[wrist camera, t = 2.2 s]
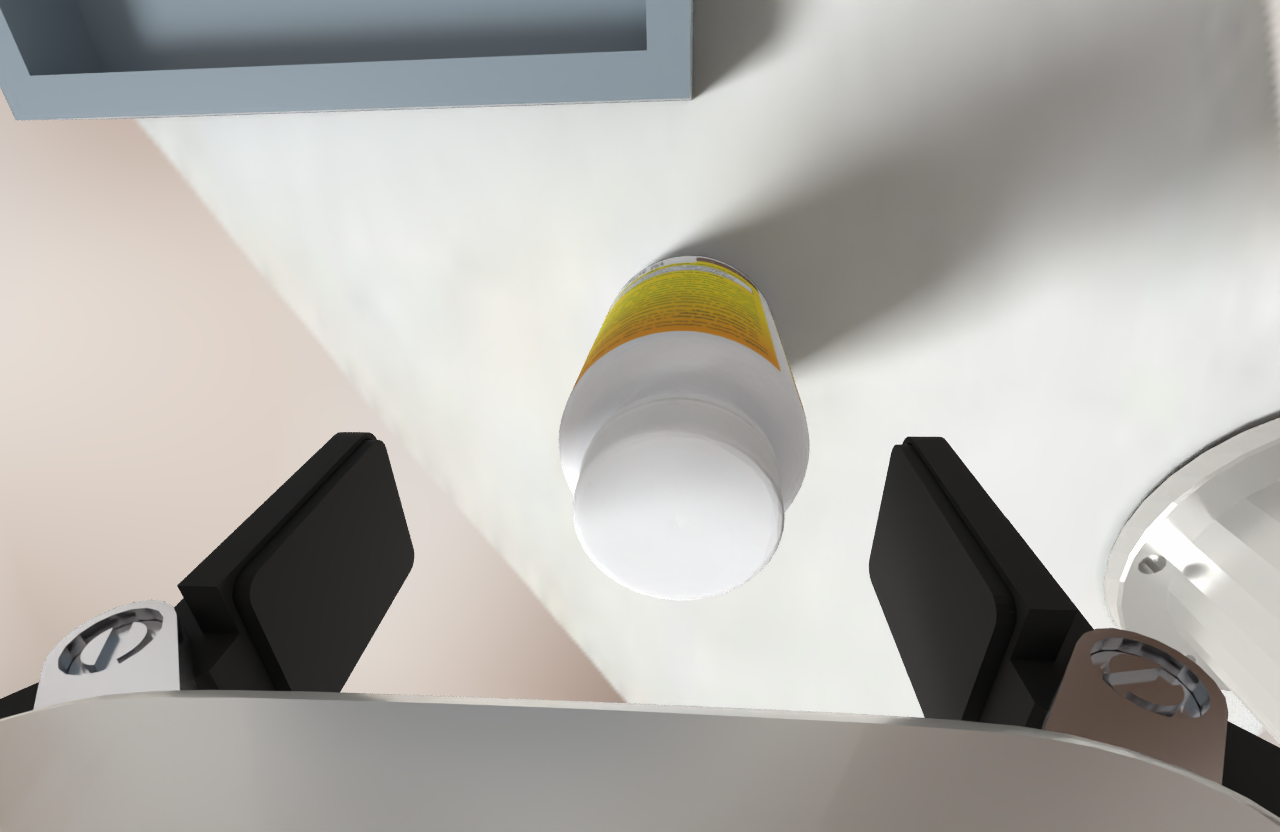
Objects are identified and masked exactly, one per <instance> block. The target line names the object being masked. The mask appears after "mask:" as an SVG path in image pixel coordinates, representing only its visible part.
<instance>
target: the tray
mask: <svg viewBox="0 0 1280 832" xmlns="http://www.w3.org/2000/svg"><path fill="white" fill-rule="evenodd" d="M692 70H693V0H0V87H1V89H2V91H3V94H4V96H5V98H6V100H7V102H8V104H9V107H10V109H11V111H12V113H13V115H14V117H15V119H16V120H68V119H125V118H157V117H188V116H218V115H249V114H280V113H311V112H342V111H372V110H403V109H434V108H465V107H495V106H526V105H557V104H588V103H619V102H649V101H680V100H692Z"/></svg>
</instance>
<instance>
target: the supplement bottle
mask: <svg viewBox="0 0 1280 832" xmlns="http://www.w3.org/2000/svg"><path fill="white" fill-rule="evenodd" d="M559 452H560V460H561V465H562V469H563V472H564V476H565V478H566V481H567V483H568V486H569V488H570V489H571V491H572V493H573V495H574V499H573V520H574V526H575V530H576V533H577V536H578V538H579V541H580V543H581V545H582V547H583V549H584V551H585V552H586V553H587V555H588V556H589V558H590V559H591V560H592V562H593V563H594V564H595V565H596V566H597V567H598V568H599V569H600V570H601V571H602V572H604V573H605V574H606V575H608V576H609V577H610V578H612V579H613V580H615V581H616V582H618V583H619V584H621V585H623V586H625V587H627V588H629V589H631V590H634V591H636V592H638V593H641V594H644V595H648V596H653V597H657V598H661V599H668V600H696V599H704V598H709V597H713V596H717V595H720V594H723V593H726V592H729V591H731V590H733V589H735V588H737V587H740V586H741V585H743V584H744V583H746V582H748V581H749V580H750V579H752V578H753V577H754V576H755V575H756V574H758V573H759V572H760V571H761V570H762V569H763V568H764V567H765V566H766V564H767V563H768V562H769V561H770V559H771V558H772V556H773V555H774V553H775V551H776V549H777V547H778V545H779V542H780V540H781V536H782V532H783V528H784V512H785V511H786V510H787V509H788V507H789V506H790V505H791V503H792V502H793V500H794V498H795V497H796V495H797V493H798V491H799V489H800V487H801V485H802V482H803V480H804V477H805V473H806V469H807V464H808V459H809V434H808V427H807V422H806V417H805V413H804V409H803V406H802V403H801V400H800V397H799V394H798V391H797V388H796V385H795V381H794V378H793V375H792V372H791V369H790V367H789V364H788V361H787V357H786V354H785V351H784V348H783V346H782V343H781V340H780V337H779V334H778V331H777V328H776V325H775V322H774V319H773V316H772V314H771V311H770V309H769V307H768V304H767V302H766V300H765V299H764V297H763V295H762V294H761V292H760V291H759V289H758V288H757V287H756V286H755V284H754V283H753V282H752V281H751V280H750V279H749V278H747V277H746V276H745V275H744V274H743V273H741V272H740V271H738V270H737V269H735V268H734V267H732V266H730V265H728V264H726V263H723V262H720V261H718V260H715V259H712V258H708V257H701V256H679V257H673V258H669V259H665V260H662V261H659V262H657V263H655V264H652V265H650V266H648V267H647V268H645V269H643V270H642V271H640V272H639V273H637V274H636V275H635V276H634V277H633V278H632V279H630V280H629V281H628V282H627V284H626V285H625V286H624V287H623V288H622V290H621V291H620V292H619V294H618V295H617V297H616V298H615V300H614V302H613V304H612V305H611V307H610V310H609V312H608V314H607V316H606V319H605V321H604V323H603V325H602V327H601V329H600V332H599V334H598V336H597V338H596V340H595V342H594V344H593V346H592V348H591V350H590V352H589V355H588V357H587V359H586V361H585V364H584V366H583V368H582V370H581V372H580V375H579V377H578V379H577V381H576V383H575V386H574V388H573V390H572V392H571V394H570V397H569V399H568V401H567V404H566V407H565V410H564V413H563V416H562V420H561V425H560V430H559Z"/></svg>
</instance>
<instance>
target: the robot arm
mask: <svg viewBox="0 0 1280 832" xmlns="http://www.w3.org/2000/svg"><path fill="white" fill-rule="evenodd" d="M413 562H414V549H413V545H412V542H411V538H410V534H409V531H408V527H407V524H406V519H405V516H404V512H403V509H402V505H401V501H400V497H399V494H398V490H397V487H396V483H395V479H394V475H393V472H392V468H391V464H390V461H389V457H388V453H387V450H386V447H385V444H384V443H383V442H382V441H380V440H377V439H376V437H375V436H374V435H373V434H371V433H363V432H362V433H360V432H353V433H352V432H341V433H337V434H336V435H334V436H333V437H332V438H331V439H330V440H329V441H328V442H327V443H326V444H325V445H324V446H323V447H322V448H321V449H320V450H319V451H318V452H317V453H315V454H314V455H313V456H312V457H311V458H310V459H309V460H308V461H307V462H306V463H305V464H304V465H303V466H302V467H301V468H300V469H299V470H298V471H297V472H296V473H295V474H293V476H291V477H290V478H289V479H288V480H287V481H286V482H285V483H284V484H283V485H282V486H281V487H280V488H279V489H278V490H277V491H276V492H275V493H274V494H273V495H271V496H270V497H269V498H268V499H267V500H266V501H265V502H264V503H263V504H262V505H261V506H260V507H259V508H258V509H257V510H256V511H255V512H254V513H253V514H252V515H251V516H250V517H248V518H247V519H246V520H245V521H244V522H243V523H242V524H241V525H240V526H239V527H238V528H237V529H236V530H235V531H234V532H233V533H232V534H231V535H230V536H229V537H228V538H227V539H225V540H224V541H223V542H222V543H221V544H220V545H219V546H218V547H217V548H216V549H215V550H214V551H213V552H212V553H211V554H210V555H209V556H208V557H207V558H206V559H205V560H203V561H202V562H201V563H200V564H199V565H198V566H197V567H196V568H195V569H194V570H193V571H192V572H191V573H190V574H189V575H188V576H187V577H186V578H185V579H184V580H183V581H182V582H181V583H179V584H178V588H179V590H180V591H181V593H182V595H183V597H184V598H183V599H182V600H181V601H180V602H179V603H178V604H177V606H175V607H173V606H172V605H170V604H168V603H166V602H164V601H155V600H147V601H140V602H133V603H130V604H127V605H123V606H120V607H117V608H114V609H112V610H109V611H107V612H105V613H103V614H101V615H98V616H96V617H94V618H92V619H91V620H89V621H87V622H86V623H84V624H82V625H81V626H79V627H77V628H76V629H74V630H73V631H72V632H71V633H70V634H68V635H67V636H66V637H64V638H63V639H62V640H61V641H60V642H59V643H58V644H57V645H56V646H55V647H54V648H53V650H52V651H51V652H50V653H49V654H48V656H47V658H46V660H45V662H44V664H43V667H42V671H41V676H40V680H39V682H38V683H36V684H34V685H31V686H29V687H27V688H24V689H22V690H20V691H18V692H15V693H13V694H11V695H9V696H6V697H4V698H2V699H0V832H1280V748H1279V747H1277V746H1275V745H1273V744H1271V743H1269V742H1267V741H1265V740H1263V739H1262V738H1260V737H1258V736H1256V735H1254V734H1252V733H1250V732H1248V731H1246V730H1244V729H1242V728H1240V727H1238V726H1236V725H1234V724H1232V723H1230V722H1229V721H1228V709H1227V704H1226V699H1225V696H1224V695H1223V693H1222V692H1221V690H1227V691H1232V692H1233V693H1234V695H1235V696H1236V697H1237V698H1238V699H1239V700H1240V701H1241V702H1242V703H1243V704H1244V706H1245V707H1246V708H1247V709H1248V710H1249V711H1250V712H1251V713H1252V714H1253V715H1254V717H1255V718H1256V719H1257V720H1258V721H1259V722H1260V723H1261V724H1262V725H1263V727H1264V728H1265V729H1266V730H1267V731H1268V732H1269V733H1270V734H1271V735H1272V736H1273V737H1274V738H1275V740H1276V741H1277V742H1278V743H1279V744H1280V418H1277V419H1274V420H1272V421H1269V422H1267V423H1264V424H1262V425H1259V426H1256V427H1254V428H1251V429H1249V430H1246V431H1244V432H1242V433H1240V434H1238V435H1236V436H1234V437H1232V438H1230V439H1228V440H1226V441H1225V442H1223V443H1221V444H1219V445H1217V446H1215V447H1213V448H1211V449H1210V450H1208V451H1206V452H1204V453H1202V454H1201V455H1200V456H1198V457H1197V458H1195V459H1194V460H1192V461H1191V462H1190V463H1188V464H1187V465H1185V466H1184V467H1183V468H1181V469H1180V470H1178V471H1177V472H1175V473H1174V474H1173V475H1171V476H1170V477H1169V478H1168V479H1167V480H1166V481H1165V482H1163V483H1162V484H1161V485H1160V486H1159V487H1158V488H1157V489H1156V490H1155V491H1154V492H1153V493H1152V494H1151V495H1150V496H1148V497H1147V498H1146V499H1145V500H1144V501H1143V502H1142V504H1141V505H1140V506H1139V508H1138V509H1137V510H1136V511H1135V513H1134V514H1133V515H1132V517H1131V518H1130V519H1129V520H1128V522H1127V523H1126V524H1125V526H1124V527H1123V528H1122V530H1121V532H1120V534H1119V536H1118V538H1117V540H1116V542H1115V544H1114V546H1113V548H1112V550H1111V552H1110V555H1109V559H1108V563H1107V567H1106V571H1105V576H1104V590H1105V602H1106V605H1107V607H1108V610H1109V613H1110V616H1111V618H1112V621H1113V622H1114V623H1115V625H1116V626H1117V627H1118V629H1115V628H1105V629H1095V630H1094V629H1093V628H1092V627H1091V625H1090V624H1089V623H1088V622H1087V620H1086V619H1085V618H1084V616H1083V615H1082V614H1081V613H1080V611H1079V610H1078V609H1077V607H1076V606H1075V605H1074V604H1073V602H1072V601H1071V600H1070V598H1069V597H1068V596H1067V595H1066V593H1065V592H1064V591H1063V589H1062V588H1061V587H1060V586H1059V584H1058V583H1057V582H1056V580H1055V579H1054V578H1053V577H1052V575H1051V574H1050V573H1049V572H1048V570H1047V569H1046V568H1045V566H1044V565H1043V564H1042V563H1041V561H1040V560H1039V559H1038V557H1037V556H1036V555H1035V554H1034V552H1033V551H1032V550H1031V548H1030V547H1029V546H1028V545H1027V543H1026V542H1025V541H1024V539H1023V538H1022V537H1021V536H1020V534H1019V533H1018V532H1017V530H1016V529H1015V528H1014V527H1013V525H1012V524H1011V523H1010V521H1009V520H1008V519H1007V518H1006V517H1005V516H1004V514H1003V513H1002V512H1001V511H1000V509H999V508H998V507H997V505H996V504H995V503H994V502H993V500H992V499H991V498H990V496H989V495H988V494H987V493H986V491H985V490H984V489H983V487H982V486H981V485H980V484H979V482H978V481H977V480H976V478H975V477H974V476H973V475H972V473H971V472H970V471H969V469H968V468H967V467H966V466H965V464H964V463H963V462H962V460H961V459H960V458H959V457H958V455H957V454H956V453H955V451H954V450H953V449H952V448H951V446H950V445H949V444H948V443H947V441H946V440H945V439H944V438H943V437H907V438H905V440H904V442H903V444H902V445H895V446H894V447H893V449H892V453H891V457H890V462H889V467H888V472H887V477H886V482H885V487H884V491H883V496H882V501H881V506H880V511H879V516H878V521H877V526H876V530H875V535H874V540H873V545H872V550H871V555H870V560H869V573H870V579H871V582H872V584H873V587H874V590H875V592H876V595H877V597H878V600H879V602H880V605H881V607H882V610H883V612H884V615H885V617H886V620H887V623H888V625H889V628H890V630H891V633H892V635H893V638H894V640H895V643H896V645H897V648H898V650H899V653H900V656H901V658H902V661H903V663H904V666H905V668H906V671H907V673H908V676H909V678H910V681H911V683H912V686H913V689H914V691H915V694H916V696H917V699H918V701H919V704H920V706H921V709H922V711H923V714H924V717H925V718H916V717H900V716H883V715H867V714H851V713H832V712H810V711H789V710H767V709H745V708H723V707H701V706H679V705H656V704H631V703H607V702H583V701H558V700H557V701H555V700H531V699H507V698H480V697H453V696H451V697H450V696H424V695H395V694H394V695H393V694H365V693H340V691H341V690H342V688H343V686H344V685H345V683H346V681H347V679H348V677H349V676H350V674H351V672H352V671H353V669H354V667H355V666H356V664H357V662H358V660H359V659H360V657H361V655H362V654H363V652H364V650H365V648H366V647H367V645H368V643H369V641H370V640H371V638H372V636H373V635H374V633H375V631H376V629H377V628H378V626H379V624H380V623H381V621H382V619H383V617H384V616H385V614H386V612H387V610H388V609H389V607H390V605H391V604H392V602H393V600H394V598H395V596H396V595H397V593H398V591H399V590H400V588H401V586H402V585H403V583H404V581H405V579H406V578H407V576H408V574H409V573H410V571H411V568H412V566H413ZM1220 689H1221V690H1220Z"/></svg>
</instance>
